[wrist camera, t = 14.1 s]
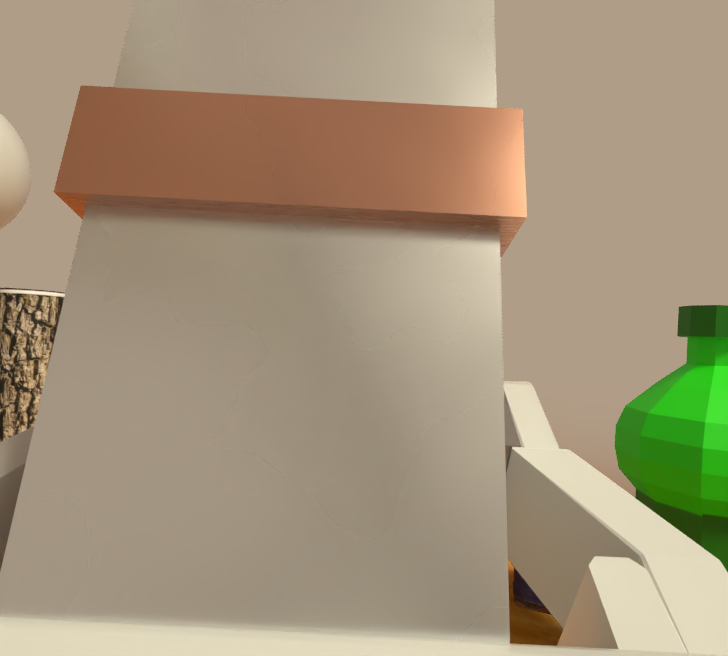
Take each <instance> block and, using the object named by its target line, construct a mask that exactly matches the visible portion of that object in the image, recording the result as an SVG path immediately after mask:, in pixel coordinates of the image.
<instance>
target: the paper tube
mask: <svg viewBox="0 0 728 656" xmlns="http://www.w3.org/2000/svg"><path fill="white" fill-rule="evenodd" d="M64 297H65V293H64V292H55V291H43V290H31V289H16V288H15V289H14V288H0V442H2V441H4V440H6V439H8V438H10V437H12V436H14V435H16V434H19V433H21V432H23V431H25V430H27V429H29V428H31V427H33V426H34V425H35V421H36V417H37V412H38V408H39V404H40V400H41V395H42V391H43V387H44V382H45V378H46V374H47V370H48V365H49V361H50V357H51V352H52V348H53V344H54V340H55V335H56V331H57V327H58V322H59V318H60V314H61V309H62V305H63V301H64Z"/></svg>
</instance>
